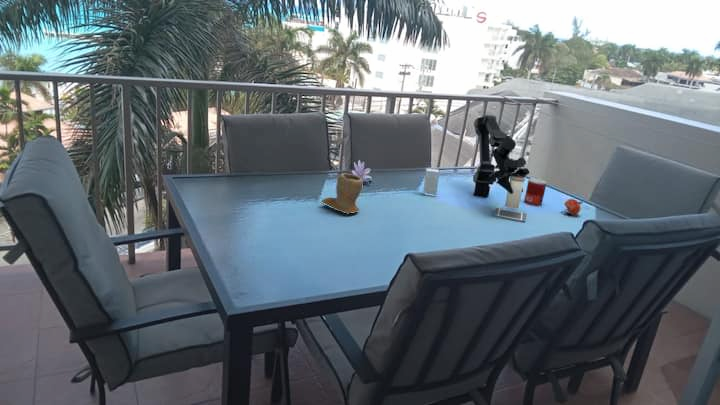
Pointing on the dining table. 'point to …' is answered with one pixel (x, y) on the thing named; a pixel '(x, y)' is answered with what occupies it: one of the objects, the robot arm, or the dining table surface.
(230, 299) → the dining table surface
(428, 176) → the skincare box
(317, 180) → the dining table surface
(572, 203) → the pomegranate
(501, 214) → the mat
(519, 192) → the tumbler
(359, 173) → the water lily
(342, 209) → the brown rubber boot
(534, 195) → the canned food
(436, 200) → the dining table surface
